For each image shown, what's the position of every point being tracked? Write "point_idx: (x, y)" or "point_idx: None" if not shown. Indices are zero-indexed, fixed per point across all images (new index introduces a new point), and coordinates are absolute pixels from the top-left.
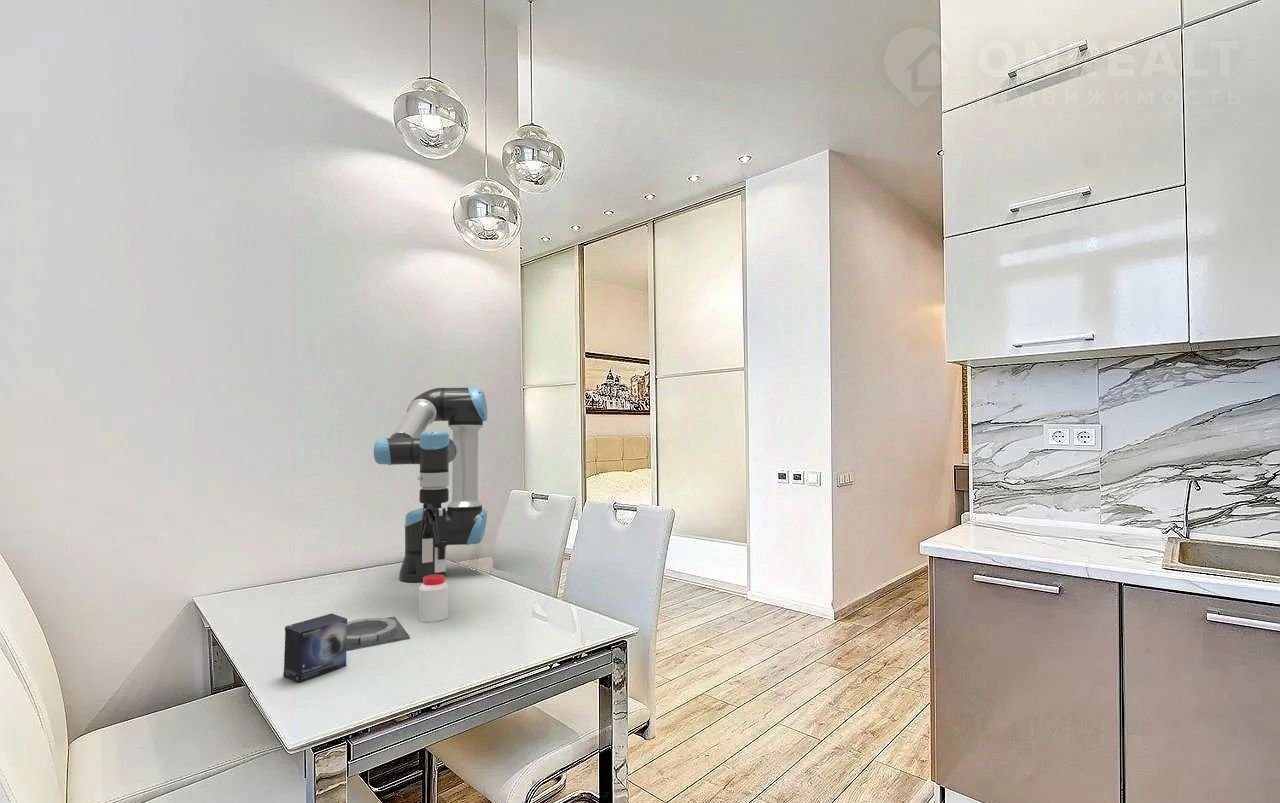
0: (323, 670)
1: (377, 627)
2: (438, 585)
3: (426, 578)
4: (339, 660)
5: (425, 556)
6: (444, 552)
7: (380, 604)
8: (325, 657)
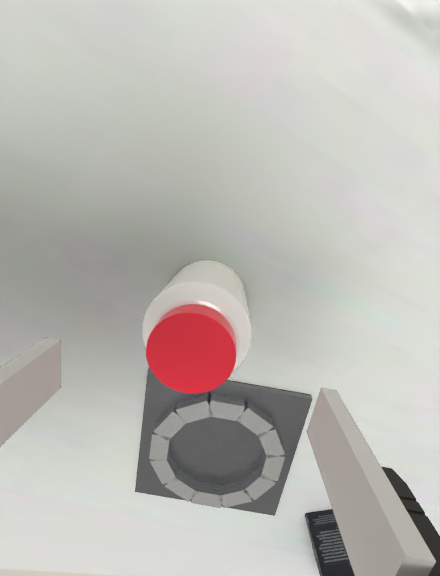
0: None
1: (203, 421)
2: (240, 343)
3: (198, 387)
4: None
5: (35, 397)
6: (431, 527)
7: (8, 348)
8: None
